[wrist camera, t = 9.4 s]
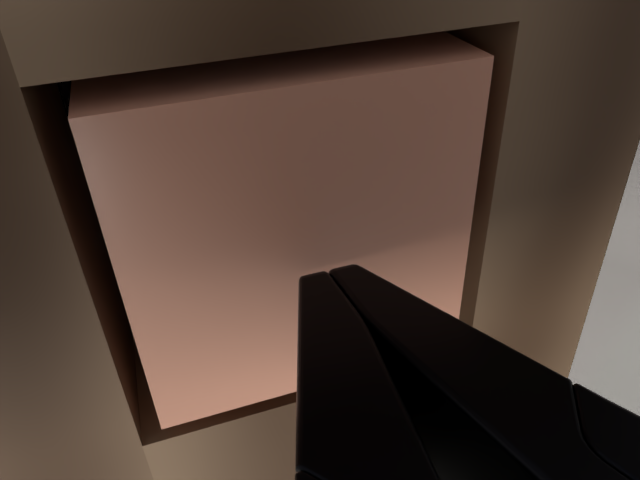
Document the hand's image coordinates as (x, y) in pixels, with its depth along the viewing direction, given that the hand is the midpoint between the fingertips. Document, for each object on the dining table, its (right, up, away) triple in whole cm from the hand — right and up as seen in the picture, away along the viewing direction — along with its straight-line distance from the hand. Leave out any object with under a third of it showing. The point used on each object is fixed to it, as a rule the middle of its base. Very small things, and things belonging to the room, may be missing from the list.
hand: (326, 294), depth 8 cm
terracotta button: (-1, +2, +3) cm, 4 cm away
